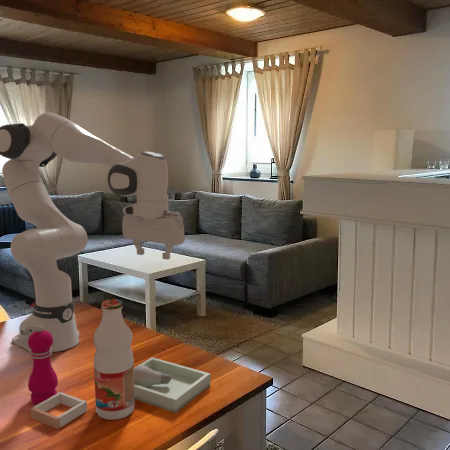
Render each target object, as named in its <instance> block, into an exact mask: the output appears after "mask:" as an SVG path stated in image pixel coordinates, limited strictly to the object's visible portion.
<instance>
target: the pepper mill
mask: <svg viewBox="0 0 450 450" xmlns="http://www.w3.org/2000/svg"><path fill="white" fill-rule="evenodd" d="M43 329H44V328H43V326H42V325H39V326H37V327H36V331H35V332H33V333H32V334H31V335H30V336H29V338H28V346H29V348H30V349H31V353H30V358H32V360H33V362H32V370H31V373H30V375H29V376H28V377H29V378H28V382H27V389H28V390H29V392H30V393H31V394H30V402H31V404H33V405H34V406H36V405H37V404H39V403H41V402H43V401H45V400H47V399H48V398H50V397H52V396H54V395H56V394H57V389H56V388H57V387H58V385H59V379H58V375H57V373H56V371H55V370H54V368H53V366H52V363H51V356H52V354H53V352H51V350H52V349H51V346H52V344H53V337H52V335H51V333H50V332H48V331H45V330H43Z"/></svg>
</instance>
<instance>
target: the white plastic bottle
mask: <svg viewBox="0 0 450 450" xmlns="http://www.w3.org/2000/svg"><path fill="white" fill-rule="evenodd" d="M100 306H101V311H102V315H101V319H100V323H99V325H98V327H97V328H96V329H95V331H94V334H93V344H94V347H95V353H94V356H93V371H94V372H93V374H94V375H93V376H94V393H95V394H94V396H95V398H94V400H95V412H96V414H97V416H98V417H99V418H101V419H104V420H108V421H110V420H111V421H113V420H114V421H115V420H121V419H125V418H126V417H128V416H130V415H131V414H132V413H133V411H134V409H135V404H136V403H135V401H136V399H134V368H135V365H134V363H135V362H134V360H135V359H134V353H133V350H132V347H131V345H132V343H133V342H132V341H133V333H132V332H133V331H132V330H131V328H130V326H128V325H127V324H126V322H125V320H124V317H123V313H122V309H123V301H122V300H121V299H117V298H110V299H106V300H102V301H101V305H100Z"/></svg>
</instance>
